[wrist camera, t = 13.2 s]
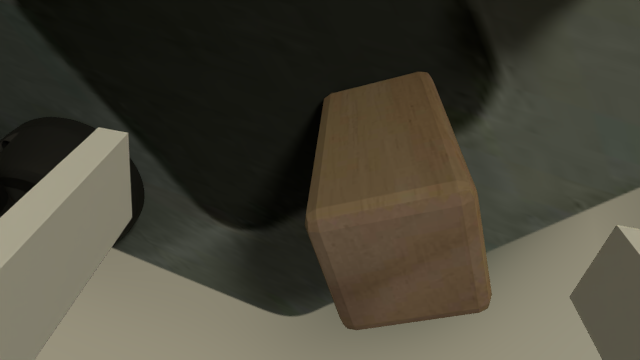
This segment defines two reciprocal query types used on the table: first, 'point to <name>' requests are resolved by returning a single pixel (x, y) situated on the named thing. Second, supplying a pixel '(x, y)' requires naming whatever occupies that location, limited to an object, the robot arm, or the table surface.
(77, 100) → the table surface
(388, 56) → the table surface
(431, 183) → the wooden block
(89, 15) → the table surface
